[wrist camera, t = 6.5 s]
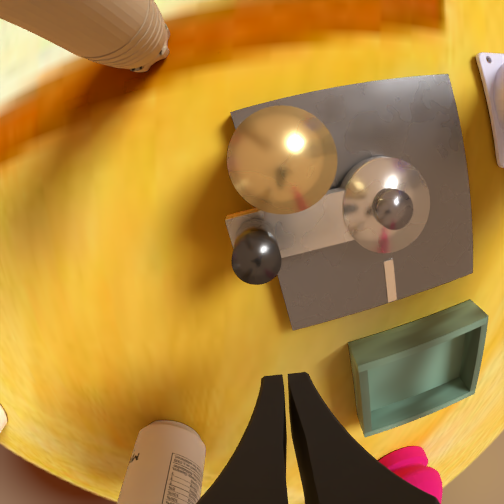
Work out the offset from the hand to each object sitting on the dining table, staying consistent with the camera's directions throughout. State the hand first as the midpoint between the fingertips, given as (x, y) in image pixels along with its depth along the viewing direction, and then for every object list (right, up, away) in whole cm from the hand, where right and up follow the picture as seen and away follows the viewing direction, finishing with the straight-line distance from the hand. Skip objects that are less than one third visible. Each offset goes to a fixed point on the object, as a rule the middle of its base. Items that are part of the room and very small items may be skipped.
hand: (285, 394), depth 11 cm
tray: (+11, -4, +11) cm, 16 cm away
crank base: (+6, +8, +7) cm, 12 cm away
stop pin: (0, +10, +5) cm, 11 cm away
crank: (+3, +7, +6) cm, 10 cm away
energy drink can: (-8, -11, +14) cm, 20 cm away
